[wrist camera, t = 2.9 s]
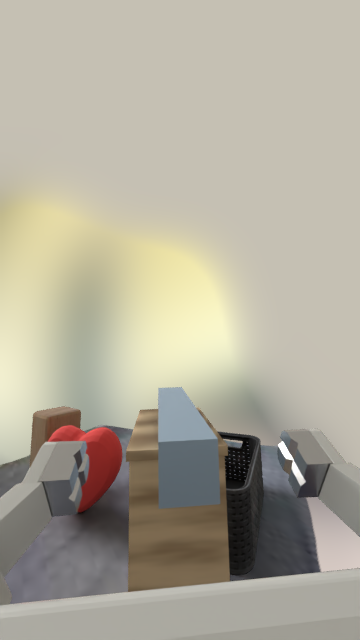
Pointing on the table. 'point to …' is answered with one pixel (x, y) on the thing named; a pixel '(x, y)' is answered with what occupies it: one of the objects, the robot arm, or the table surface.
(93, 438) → the heart
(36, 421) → the block
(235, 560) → the storage bin
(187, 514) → the oak stand
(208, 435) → the blue bar
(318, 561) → the table surface
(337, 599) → the robot arm
